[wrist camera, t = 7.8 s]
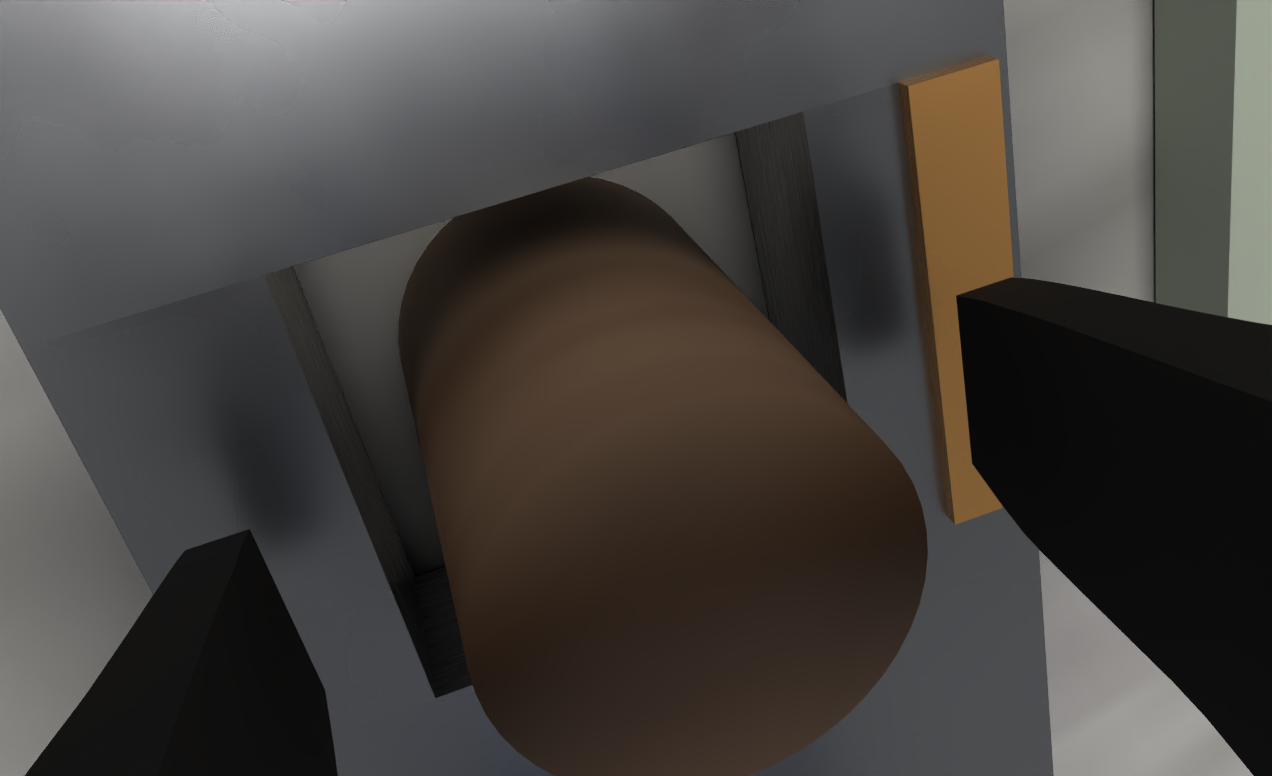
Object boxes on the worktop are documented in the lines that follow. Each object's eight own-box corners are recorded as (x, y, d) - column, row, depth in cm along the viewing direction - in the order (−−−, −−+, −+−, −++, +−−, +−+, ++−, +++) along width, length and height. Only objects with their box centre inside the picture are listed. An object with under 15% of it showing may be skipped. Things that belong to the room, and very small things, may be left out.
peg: (734, 412, 16) (947, 699, 11) (453, 508, 16) (537, 856, 11) (675, 134, 14) (900, 322, 9) (352, 232, 14) (397, 491, 9)
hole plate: (972, 711, 20) (1064, 832, 18) (397, 930, 19) (413, 1091, 16) (826, -646, 11) (968, -761, 9) (-264, -409, 10) (-432, -475, 8)
